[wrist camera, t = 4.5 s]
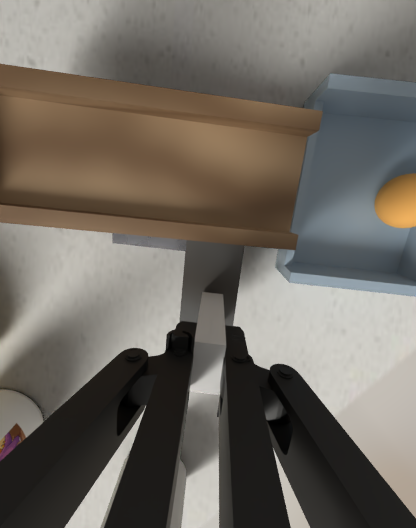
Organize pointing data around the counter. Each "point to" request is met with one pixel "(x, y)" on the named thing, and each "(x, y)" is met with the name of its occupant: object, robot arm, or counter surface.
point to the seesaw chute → (153, 168)
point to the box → (354, 188)
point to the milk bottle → (16, 419)
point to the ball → (398, 202)
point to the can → (178, 498)
